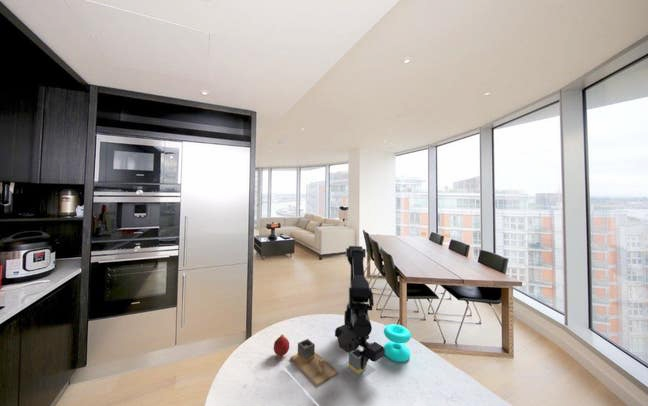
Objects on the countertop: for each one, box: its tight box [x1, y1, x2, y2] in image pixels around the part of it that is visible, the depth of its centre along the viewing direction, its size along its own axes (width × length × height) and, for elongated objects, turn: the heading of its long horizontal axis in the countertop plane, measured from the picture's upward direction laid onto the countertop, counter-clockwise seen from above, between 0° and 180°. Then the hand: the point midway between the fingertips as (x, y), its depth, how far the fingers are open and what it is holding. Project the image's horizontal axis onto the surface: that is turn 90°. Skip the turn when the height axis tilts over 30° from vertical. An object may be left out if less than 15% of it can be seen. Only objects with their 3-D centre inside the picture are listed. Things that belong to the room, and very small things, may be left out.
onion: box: [273, 333, 290, 357], centre depth 87 cm, size 6×6×8 cm
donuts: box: [383, 323, 412, 363], centre depth 90 cm, size 10×10×10 cm
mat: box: [339, 360, 376, 383], centre depth 81 cm, size 9×9×1 cm
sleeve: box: [348, 347, 368, 374], centre depth 81 cm, size 4×4×5 cm
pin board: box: [289, 338, 339, 388], centre depth 81 cm, size 9×16×6 cm, turn 40°
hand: (357, 365), depth 81 cm, fingers closed on sleeve, 4 cm apart
